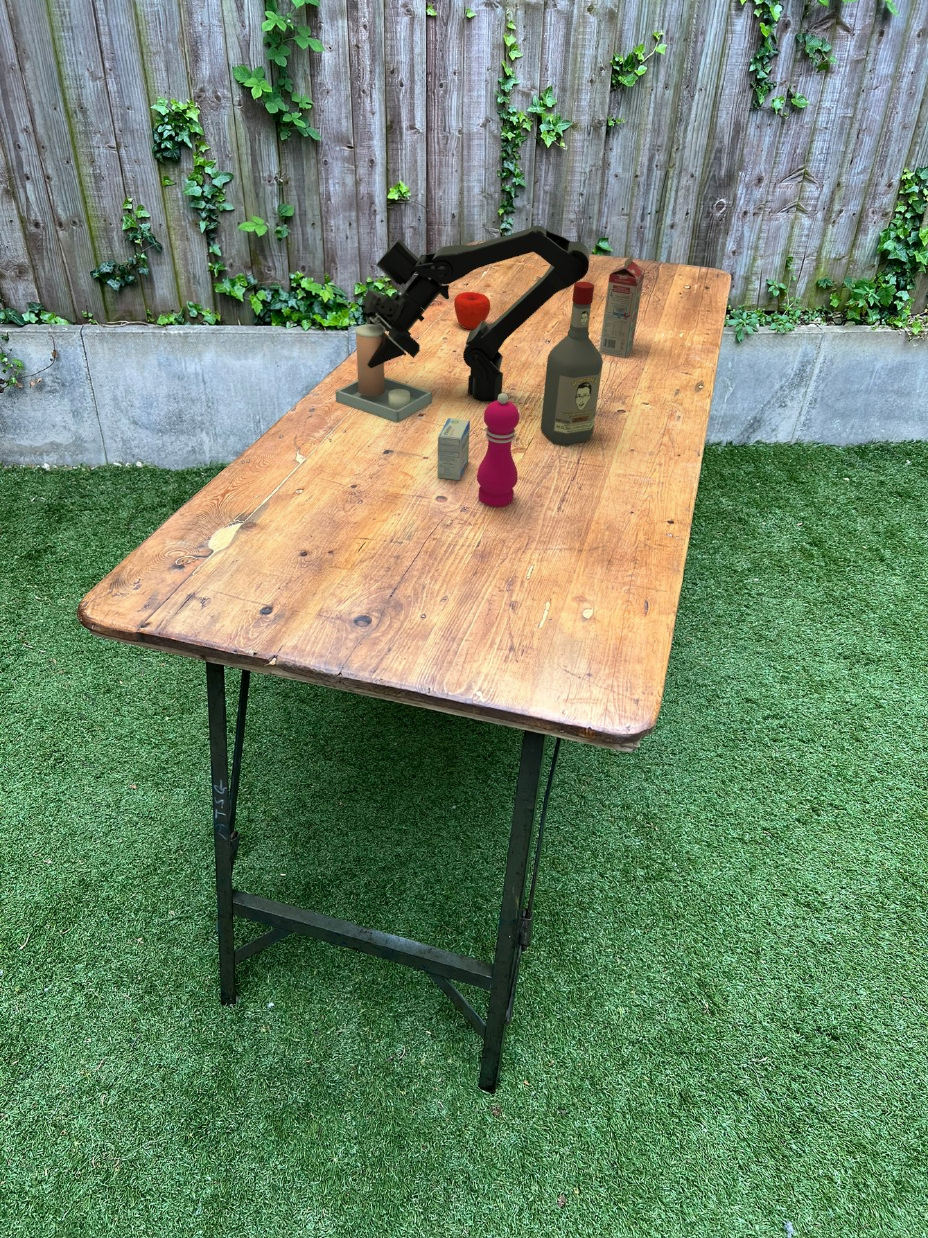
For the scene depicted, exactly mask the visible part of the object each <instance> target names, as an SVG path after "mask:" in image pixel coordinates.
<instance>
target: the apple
mask: <svg viewBox="0 0 928 1238" xmlns="http://www.w3.org/2000/svg"><path fill="white" fill-rule="evenodd" d="M453 303H454V304H453V305H454V311H455V315H456V316H455V317H456V319H457V322H458V324H459V325H460V327H462V328H464V329H466V330H471V331H473V330H474V329H476V328H477V327H478V325H479V324H480V323H481V321H482V320H483V321H484V322H485V321H486V319H487V318H488V316H489V314H490V312H491V301H490V299H489V298H488V296H486V295H485V294H482V293H479V292H474V291H466V292H465V291H464V292H460V293H459V294H457V295H456V296H455V298H454V301H453Z"/></svg>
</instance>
